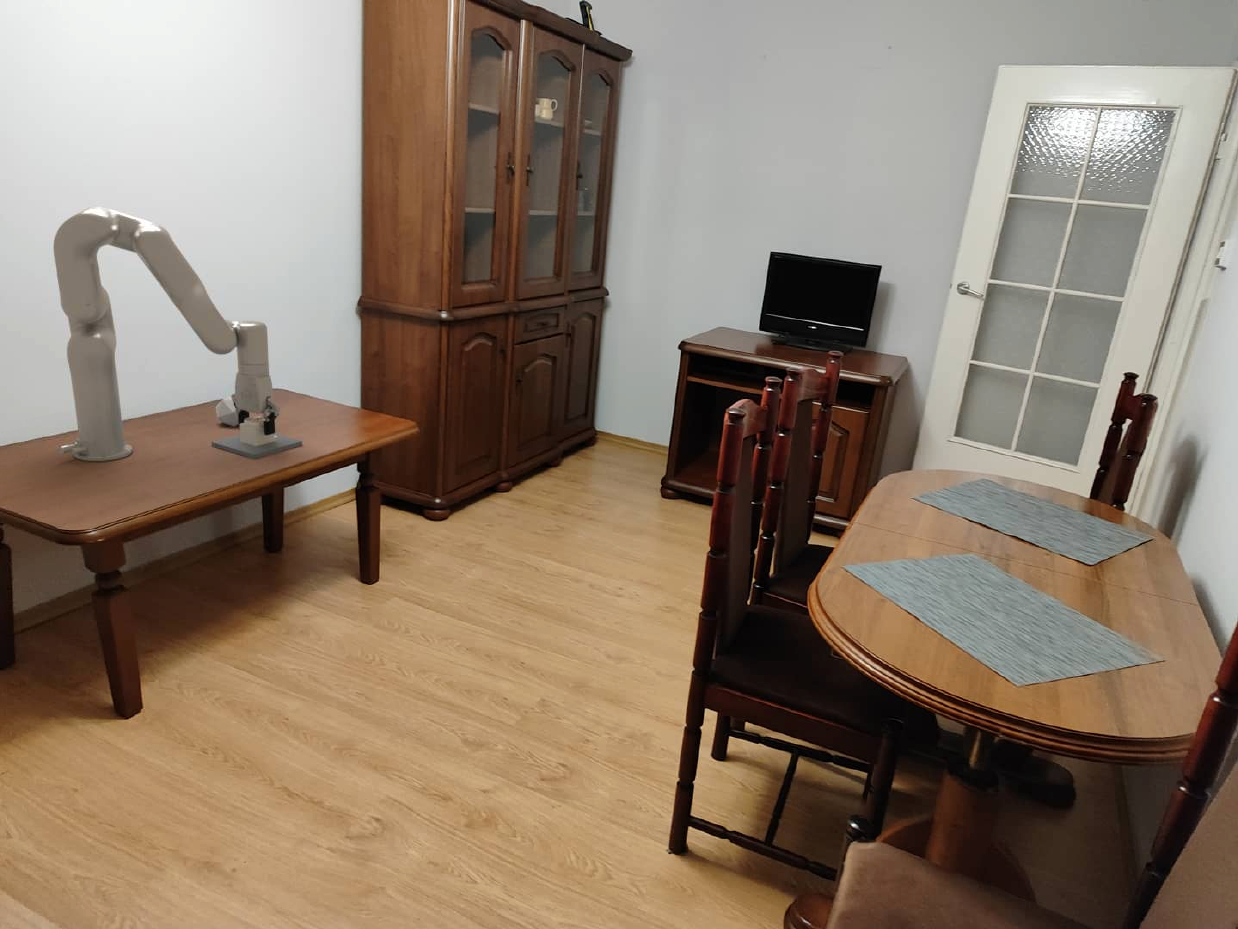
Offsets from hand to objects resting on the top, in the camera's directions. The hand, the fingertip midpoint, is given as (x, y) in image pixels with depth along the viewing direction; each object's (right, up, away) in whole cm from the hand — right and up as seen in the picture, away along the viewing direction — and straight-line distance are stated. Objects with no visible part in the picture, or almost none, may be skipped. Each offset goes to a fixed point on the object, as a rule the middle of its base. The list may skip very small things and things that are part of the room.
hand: (256, 430), depth 221 cm
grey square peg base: (0, -4, +1) cm, 4 cm away
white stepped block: (0, -3, +1) cm, 3 cm away
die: (-15, +3, +18) cm, 23 cm away
